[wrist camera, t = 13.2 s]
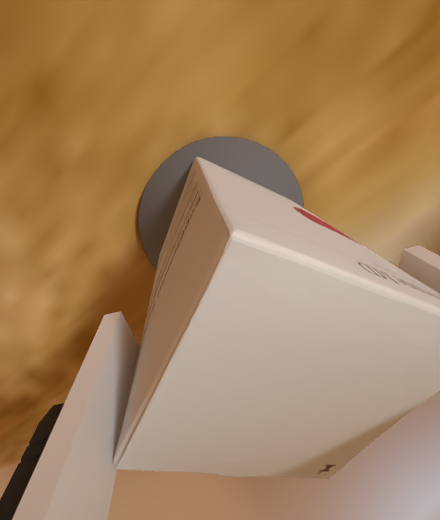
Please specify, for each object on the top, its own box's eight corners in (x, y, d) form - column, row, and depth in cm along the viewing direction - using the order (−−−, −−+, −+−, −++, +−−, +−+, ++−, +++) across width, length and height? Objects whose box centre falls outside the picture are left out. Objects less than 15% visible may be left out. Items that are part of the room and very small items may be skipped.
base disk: (235, 88, 16) (237, 86, 15) (327, 229, 22) (332, 232, 22) (102, 224, 19) (99, 227, 18) (215, 315, 25) (216, 319, 25)
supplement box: (297, 200, 20) (522, 337, 7) (247, 285, 23) (330, 485, 10) (194, 151, 17) (232, 220, 4) (155, 256, 20) (105, 481, 7)
